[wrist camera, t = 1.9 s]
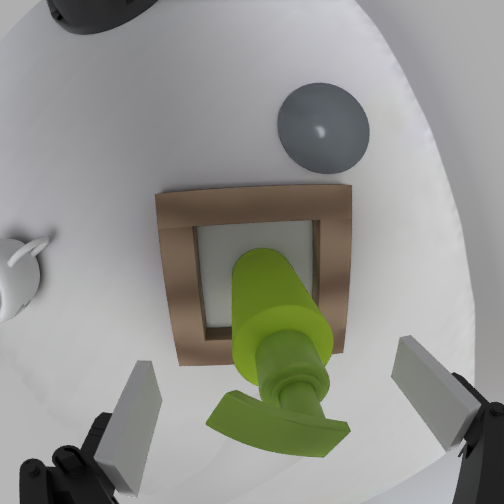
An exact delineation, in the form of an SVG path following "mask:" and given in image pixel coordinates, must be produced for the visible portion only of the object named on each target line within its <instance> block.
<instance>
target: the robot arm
mask: <svg viewBox="0 0 504 504" xmlns="http://www.w3.org/2000/svg"><path fill="white" fill-rule="evenodd" d="M46 1H47V4H48V7H49V9H50V12H51V15H52V17H53V19H54V20H55V21H56V22H57V23H58V24H59V25H60V26H62V27H63V28H64V29H66V30H67V31H69V32H72V33H75V34H92V33H97V32H101V31H105V30H108V29H111V28H114V27H116V26H118V25H120V24H123V23H125V22H127V21H129V20H130V19H132V18H134V17H135V16H137V15H139V14H140V13H142V12H143V11H145V10H146V9H147V8H149V7H150V6H151V5H152V4H153V3H155V2H156V1H157V0H46ZM391 377H392V379H393V380H394V381H395V383H396V384H397V385H398V387H399V388H400V389H401V391H402V392H403V393H404V395H405V396H406V397H407V399H408V400H409V401H410V403H411V404H412V405H413V407H414V408H415V409H416V411H417V412H418V414H419V415H420V416H421V418H422V419H423V420H424V422H425V423H426V424H427V426H428V427H429V429H430V430H431V431H432V433H433V434H434V436H435V437H436V438H437V440H438V441H439V443H440V444H441V445H442V447H443V448H444V450H445V451H446V452H448V451H450V450H452V449H454V448H456V447H458V446H459V445H460V443H461V441H462V439H463V438H464V439H465V440H466V444H465V445H464V447H463V448H462V450H461V452H460V453H459V455H458V457H460V456H461V454H462V453H463V457H462V463H461V468H460V473H459V479H458V483H457V488H456V492H455V495H454V499H453V503H452V504H504V405H503V404H501V403H499V402H491V403H489V402H488V401H487V400H486V399H485V398H484V397H483V396H482V395H481V394H480V393H479V392H478V391H477V390H476V389H475V388H473V386H472V385H471V384H470V383H468V381H467V380H466V379H465V378H464V377H463V376H461V375H459V374H457V373H455V372H454V373H450V372H449V371H448V370H447V369H446V368H445V367H444V366H443V365H442V364H441V363H440V362H438V361H437V360H436V359H435V358H434V357H433V356H432V355H431V354H430V353H429V352H428V351H427V350H426V349H425V348H424V347H423V346H422V345H421V344H420V343H419V342H418V341H416V340H415V339H414V338H413V337H412V336H411V335H409V336H404V337H400V338H399V344H398V349H397V353H396V358H395V362H394V367H393V371H392V375H391ZM161 404H162V398H161V394H160V391H159V387H158V384H157V380H156V376H155V373H154V369H153V365H152V361H139V360H138V361H137V363H136V365H135V367H134V369H133V371H132V373H131V375H130V377H129V379H128V381H127V384H126V386H125V388H124V390H123V392H122V394H121V396H120V399H119V401H118V403H117V405H116V407H115V410H114V412H113V414H112V413H105V412H102V413H101V414H100V415H99V416H98V417H97V418H96V419H95V420H94V422H93V424H92V426H91V429H90V430H89V433H88V435H87V437H86V439H85V441H84V443H83V445H82V447H81V449H78V448H77V447H75V446H71V445H66V446H62V447H60V448H58V449H57V450H56V451H55V452H54V454H53V456H52V462H53V463H54V465H55V466H56V467H46V466H45V465H44V464H43V462H42V461H40V460H38V459H33V458H32V459H28V460H26V461H25V462H23V464H22V465H21V467H20V480H19V481H20V482H19V488H20V489H19V492H20V504H119V503H118V501H117V500H116V498H115V497H114V496H113V494H114V491H115V489H116V490H117V491H118V493H119V494H120V495H125V496H130V497H136V498H137V496H138V493H139V488H140V484H141V480H142V476H143V472H144V468H145V464H146V460H147V456H148V452H149V448H150V444H151V440H152V436H153V433H154V429H155V425H156V422H157V418H158V414H159V411H160V407H161Z"/></svg>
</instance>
